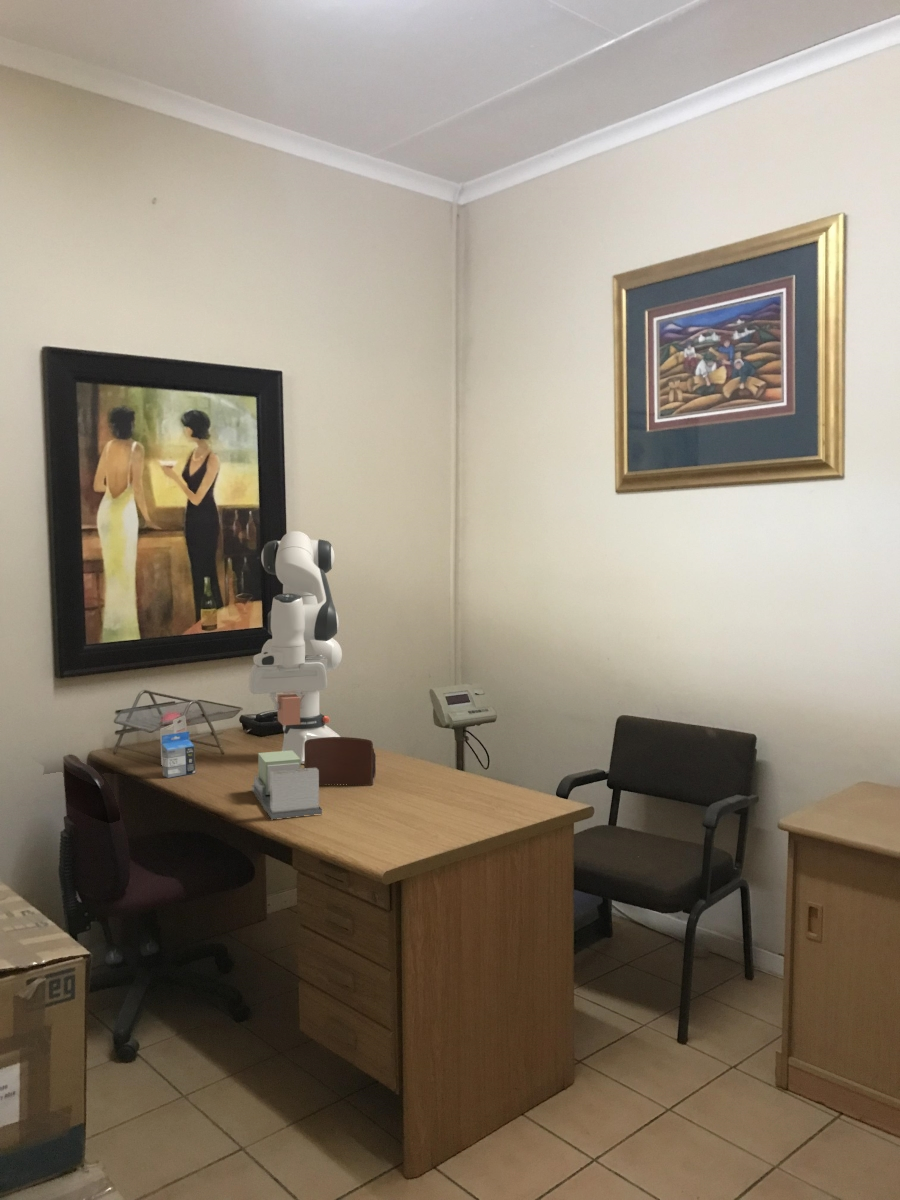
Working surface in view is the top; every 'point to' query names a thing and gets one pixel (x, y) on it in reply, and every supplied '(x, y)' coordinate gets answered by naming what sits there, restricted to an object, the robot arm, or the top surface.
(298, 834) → the top surface
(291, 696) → the block
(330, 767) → the letter holder
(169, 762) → the label tape box
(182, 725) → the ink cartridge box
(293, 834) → the top surface
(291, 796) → the tray
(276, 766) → the pale green block
